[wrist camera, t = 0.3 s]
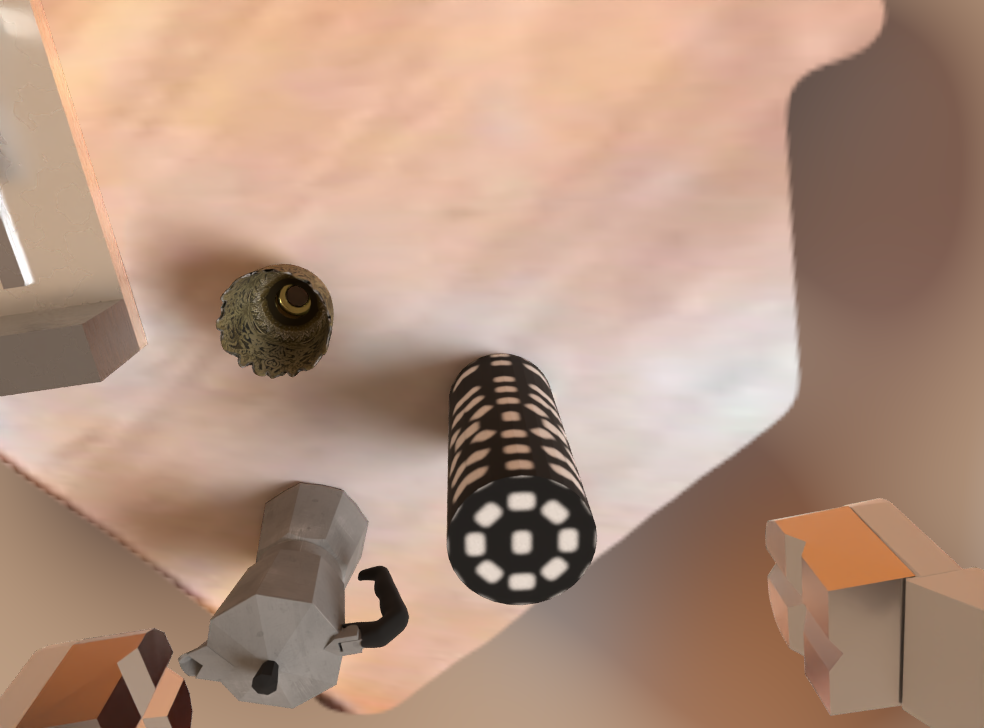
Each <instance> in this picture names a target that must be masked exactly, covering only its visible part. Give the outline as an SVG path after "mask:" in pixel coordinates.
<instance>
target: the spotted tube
mask: <svg viewBox="0 0 984 728" xmlns="http://www.w3.org/2000/svg"><path fill="white" fill-rule="evenodd" d="M596 542H597V534H596V525H595V522H594V519H593V516H592V513H591V510H590V507H589V504H588V501H587V498H586V495H585V492H584V489H583V485H582V482H581V479H580V476H579V473H578V470H577V467H576V464H575V461H574V458H573V455H572V452H571V449H570V446H569V443H568V440H567V437H566V434H565V431H564V428H563V425H562V422H561V419H560V416H559V413H558V410H557V407H556V404H555V401H554V398H553V395H552V392H551V389H550V386H549V383H548V381H547V379H546V378H545V376H544V374H543V373H542V372H541V371H540V370H539V369H538V367H536V366H535V365H534V364H532V363H531V362H530V361H528V360H526V359H523V358H521V357H518V356H515V355H511V354H494V355H488V356H485V357H482V358H479V359H477V360H476V361H474V362H472V363H470V364H469V365H468V366H467V367H465V368H464V369H463V370H462V371H461V373H460V374H459V375H458V376H457V377H456V379H455V381H454V383H453V385H452V388H451V391H450V395H449V427H448V491H447V551H448V557H449V560H450V563H451V565H452V568H453V570H454V571H455V573H456V574H457V576H458V577H459V579H460V580H461V581H462V582H463V583H464V584H465V585H466V586H467V587H468V588H469V589H470V590H472V591H474V592H475V593H477V594H478V595H480V596H482V597H484V598H487V599H489V600H492V601H494V602H499V603H503V604H509V605H526V604H534V603H539V602H542V601H545V600H549V599H551V598H553V597H555V596H558V595H560V594H562V593H563V592H565V591H566V590H567V589H569V588H570V587H572V586H573V585H574V584H575V583H576V582H577V581H578V580H579V579H580V578H581V577H582V576H583V575H584V573H585V572H586V570H587V568H588V567H589V565H590V564H591V561H592V559H593V556H594V553H595V549H596Z"/></svg>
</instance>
